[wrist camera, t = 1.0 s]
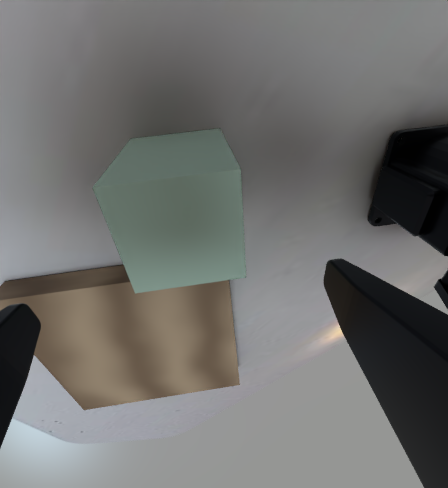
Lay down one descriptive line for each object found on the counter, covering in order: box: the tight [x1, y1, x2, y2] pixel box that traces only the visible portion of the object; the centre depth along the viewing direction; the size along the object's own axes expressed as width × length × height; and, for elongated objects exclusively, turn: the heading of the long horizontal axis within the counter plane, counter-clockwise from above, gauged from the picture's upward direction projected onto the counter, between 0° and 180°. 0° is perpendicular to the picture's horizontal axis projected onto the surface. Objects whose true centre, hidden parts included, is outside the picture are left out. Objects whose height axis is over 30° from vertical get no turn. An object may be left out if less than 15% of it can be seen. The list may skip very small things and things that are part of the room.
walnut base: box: [0, 265, 240, 410], centre depth 23 cm, size 16×16×2 cm
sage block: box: [93, 128, 246, 293], centre depth 13 cm, size 5×5×7 cm
